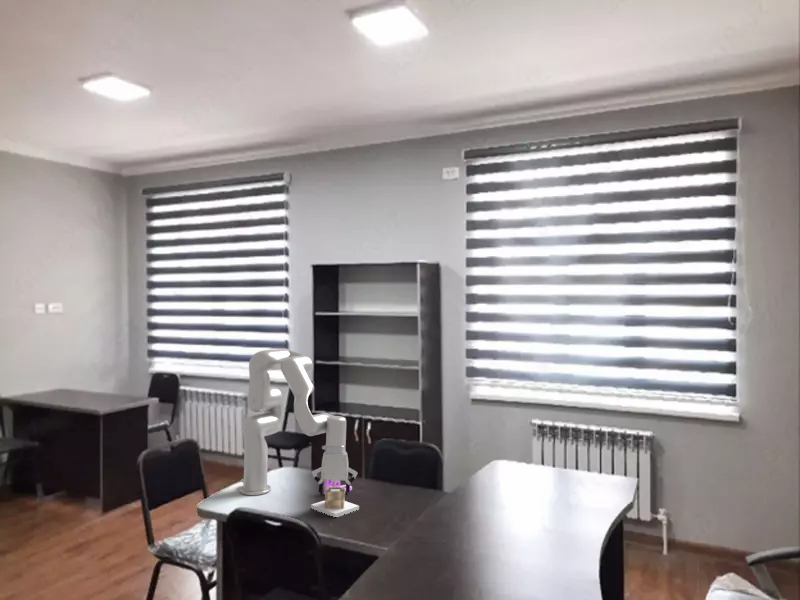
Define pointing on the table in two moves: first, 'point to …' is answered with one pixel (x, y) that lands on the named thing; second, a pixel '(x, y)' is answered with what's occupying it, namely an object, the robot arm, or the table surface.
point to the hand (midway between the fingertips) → (334, 493)
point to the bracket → (333, 484)
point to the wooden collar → (334, 497)
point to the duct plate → (335, 511)
